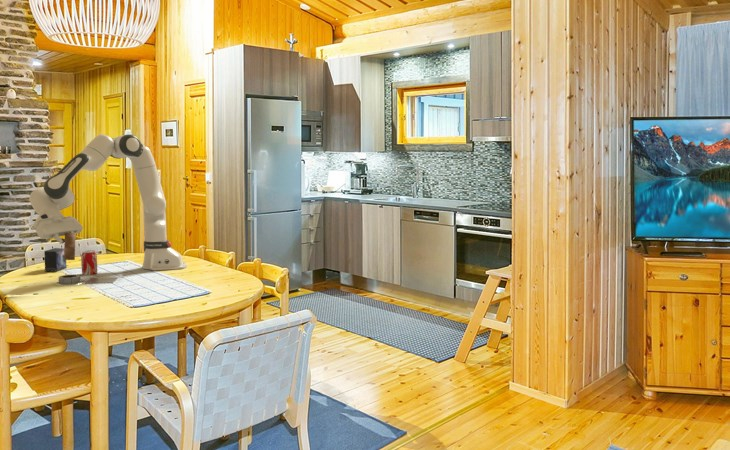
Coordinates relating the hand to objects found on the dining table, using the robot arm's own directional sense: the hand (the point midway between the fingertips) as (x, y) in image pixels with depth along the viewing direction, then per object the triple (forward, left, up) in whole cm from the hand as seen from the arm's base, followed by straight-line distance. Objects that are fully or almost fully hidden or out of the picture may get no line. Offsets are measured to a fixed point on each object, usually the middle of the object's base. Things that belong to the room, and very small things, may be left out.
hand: (68, 241), depth 285 cm
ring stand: (0, +1, -20) cm, 20 cm away
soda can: (-4, -20, -20) cm, 29 cm away
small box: (+16, -38, -20) cm, 46 cm away
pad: (-13, -2, -20) cm, 24 cm away
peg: (0, +2, -8) cm, 8 cm away
